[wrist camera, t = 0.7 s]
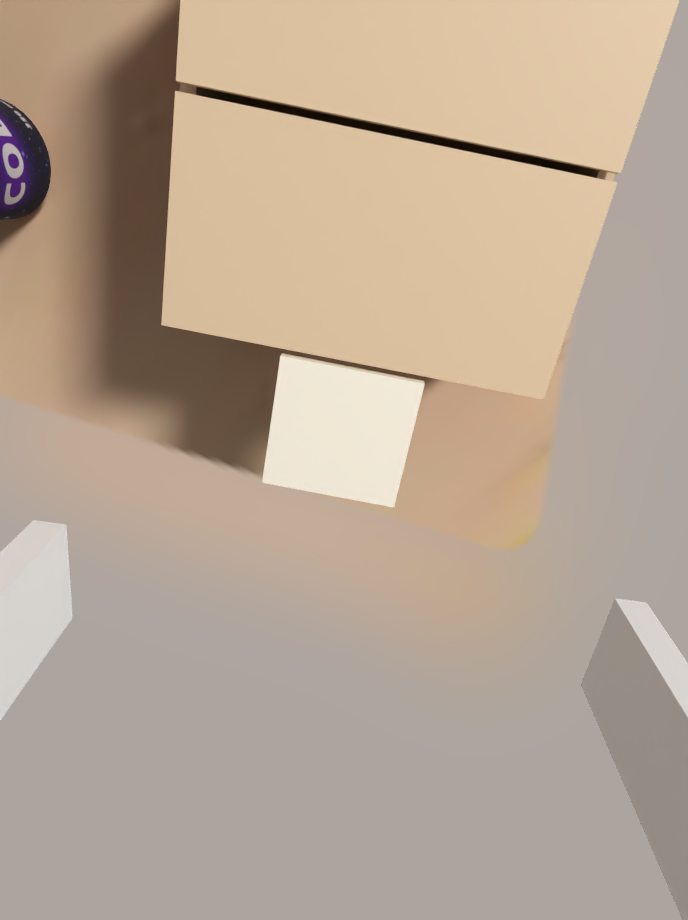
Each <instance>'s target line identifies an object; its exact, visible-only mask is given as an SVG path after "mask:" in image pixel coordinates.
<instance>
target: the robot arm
mask: <svg viewBox="0 0 688 920" xmlns="http://www.w3.org/2000/svg"><path fill="white" fill-rule="evenodd" d="M67 545H68V544H67V530H66V525H64V524H57V523H50V522H42V521H34V520H33V521H32V522H31V523H30V524H29V525H28V526H27V527H26V528H25V529H24V530H23V531H22V532H21V533H20V534H19V535H18V536H17V537H16V538H15V539H14V540H13V541H12V542H11V543H9V544H8V545H7V546H6V548H4V549H3V550H2V551H1V552H0V720H1V719H2V718H3V716H4V715H5V713H6V712H7V710H8V709H9V708H10V706H11V705H12V703H13V702H14V701H15V699H16V698H17V696H18V695H19V693H20V692H21V691H22V689H23V688H24V686H25V685H26V683H27V682H28V681H29V679H30V678H31V676H32V675H33V674H34V672H35V671H36V669H37V668H38V666H39V665H40V663H41V662H42V661H43V659H44V658H45V656H46V655H47V654H48V652H49V651H50V649H51V648H52V647H53V645H54V644H55V642H56V641H57V639H58V637H59V636H60V635H61V634H62V632H63V631H64V630H65V628H66V627H67V625H68V624H69V622H70V621H71V619H72V618H73V617H72V602H71V588H70V573H69V558H68V546H67ZM581 686H582V688H583V691H584V693H585V696H586V698H587V700H588V702H589V705H590V707H591V709H592V712H593V714H594V716H595V718H596V721H597V723H598V726H599V728H600V730H601V732H602V735H603V737H604V739H605V742H606V744H607V746H608V748H609V751H610V753H611V755H612V758H613V760H614V762H615V765H616V767H617V769H618V772H619V774H620V776H621V779H622V781H623V783H624V786H625V787H626V790H627V792H628V795H629V797H630V799H631V802H632V804H633V806H634V808H635V811H636V813H637V815H638V818H639V820H640V822H641V825H642V827H643V829H644V832H645V834H646V836H647V839H648V841H649V843H650V845H651V848H652V850H653V852H654V855H655V857H656V859H657V862H658V864H659V866H660V869H661V871H662V873H663V876H664V878H665V880H666V882H667V885H668V887H669V889H670V892H671V894H672V896H673V899H674V901H675V903H676V905H677V908H678V910H679V912H680V915H681V917H682V919H683V920H688V663H687V662H686V660H685V659H684V657H683V656H682V654H681V653H680V651H679V650H678V648H677V647H676V646H675V644H674V642H673V641H672V640H671V638H670V637H669V635H668V634H667V633H666V631H665V629H664V628H663V626H662V625H661V624H660V622H659V620H658V619H657V618H656V616H655V615H654V613H653V612H652V610H651V609H650V607H649V606H648V604H647V603H645V602H637V601H630V600H622V599H615V600H614V602H613V605H612V607H611V610H610V613H609V615H608V617H607V620H606V622H605V625H604V627H603V630H602V633H601V635H600V638H599V640H598V643H597V646H596V648H595V651H594V653H593V655H592V658H591V660H590V663H589V666H588V668H587V671H586V673H585V676H584V678H583V681H582V683H581Z"/></svg>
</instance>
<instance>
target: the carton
mask: <svg viewBox="0 0 688 920" xmlns="http://www.w3.org/2000/svg"><path fill="white" fill-rule="evenodd" d="M179 92H184V93H188V94H193V95H198V96H203V97H208V98H213V99H217V100H222V101H227V102H232V103H237V104H242V105H246V106H251V107H256V108H261V109H266V110H270V111H275V112H280V113H285V114H290V115H295V116H299V117H304V118H309V119H314V120H319V121H324V122H328V123H333V124H338V125H343V126H348V127H352V128H357V129H362V130H367V131H372V132H377V133H381V134H386V135H391V136H396V137H401V138H406V139H410V140H415V141H420V142H425V143H430V144H434V145H439V146H444V147H449V148H454V149H459V150H463V151H468V152H473V153H478V154H483V155H487V156H492V157H497V158H502V159H507V160H512V161H516V162H521V163H526V164H531V165H536V166H541V167H545V168H550V169H555V170H560V171H565V172H569V173H574V174H579V175H584V176H589V177H594V178H598V179H603V180H608V181H613V179H614V176H615V174H614V173H609V172H605V171H600V170H595V169H590V168H585V167H580V166H576V165H571V164H566V163H561V162H556V161H552V160H547V159H542V158H537V157H532V156H528V155H523V154H518V153H513V152H508V151H503V150H499V149H494V148H489V147H484V146H479V145H475V144H470V143H465V142H460V141H455V140H451V139H446V138H441V137H436V136H431V135H426V134H422V133H417V132H412V131H407V130H402V129H398V128H393V127H388V126H383V125H378V124H373V123H369V122H364V121H359V120H354V119H349V118H345V117H340V116H335V115H330V114H325V113H321V112H316V111H311V110H306V109H301V108H296V107H292V106H287V105H282V104H277V103H272V102H268V101H263V100H258V99H253V98H248V97H244V96H239V95H234V94H229V93H224V92H219V91H215V90H210V89H205V88H200V87H195V86H191V85H186V84H181V83H180V89H179Z"/></svg>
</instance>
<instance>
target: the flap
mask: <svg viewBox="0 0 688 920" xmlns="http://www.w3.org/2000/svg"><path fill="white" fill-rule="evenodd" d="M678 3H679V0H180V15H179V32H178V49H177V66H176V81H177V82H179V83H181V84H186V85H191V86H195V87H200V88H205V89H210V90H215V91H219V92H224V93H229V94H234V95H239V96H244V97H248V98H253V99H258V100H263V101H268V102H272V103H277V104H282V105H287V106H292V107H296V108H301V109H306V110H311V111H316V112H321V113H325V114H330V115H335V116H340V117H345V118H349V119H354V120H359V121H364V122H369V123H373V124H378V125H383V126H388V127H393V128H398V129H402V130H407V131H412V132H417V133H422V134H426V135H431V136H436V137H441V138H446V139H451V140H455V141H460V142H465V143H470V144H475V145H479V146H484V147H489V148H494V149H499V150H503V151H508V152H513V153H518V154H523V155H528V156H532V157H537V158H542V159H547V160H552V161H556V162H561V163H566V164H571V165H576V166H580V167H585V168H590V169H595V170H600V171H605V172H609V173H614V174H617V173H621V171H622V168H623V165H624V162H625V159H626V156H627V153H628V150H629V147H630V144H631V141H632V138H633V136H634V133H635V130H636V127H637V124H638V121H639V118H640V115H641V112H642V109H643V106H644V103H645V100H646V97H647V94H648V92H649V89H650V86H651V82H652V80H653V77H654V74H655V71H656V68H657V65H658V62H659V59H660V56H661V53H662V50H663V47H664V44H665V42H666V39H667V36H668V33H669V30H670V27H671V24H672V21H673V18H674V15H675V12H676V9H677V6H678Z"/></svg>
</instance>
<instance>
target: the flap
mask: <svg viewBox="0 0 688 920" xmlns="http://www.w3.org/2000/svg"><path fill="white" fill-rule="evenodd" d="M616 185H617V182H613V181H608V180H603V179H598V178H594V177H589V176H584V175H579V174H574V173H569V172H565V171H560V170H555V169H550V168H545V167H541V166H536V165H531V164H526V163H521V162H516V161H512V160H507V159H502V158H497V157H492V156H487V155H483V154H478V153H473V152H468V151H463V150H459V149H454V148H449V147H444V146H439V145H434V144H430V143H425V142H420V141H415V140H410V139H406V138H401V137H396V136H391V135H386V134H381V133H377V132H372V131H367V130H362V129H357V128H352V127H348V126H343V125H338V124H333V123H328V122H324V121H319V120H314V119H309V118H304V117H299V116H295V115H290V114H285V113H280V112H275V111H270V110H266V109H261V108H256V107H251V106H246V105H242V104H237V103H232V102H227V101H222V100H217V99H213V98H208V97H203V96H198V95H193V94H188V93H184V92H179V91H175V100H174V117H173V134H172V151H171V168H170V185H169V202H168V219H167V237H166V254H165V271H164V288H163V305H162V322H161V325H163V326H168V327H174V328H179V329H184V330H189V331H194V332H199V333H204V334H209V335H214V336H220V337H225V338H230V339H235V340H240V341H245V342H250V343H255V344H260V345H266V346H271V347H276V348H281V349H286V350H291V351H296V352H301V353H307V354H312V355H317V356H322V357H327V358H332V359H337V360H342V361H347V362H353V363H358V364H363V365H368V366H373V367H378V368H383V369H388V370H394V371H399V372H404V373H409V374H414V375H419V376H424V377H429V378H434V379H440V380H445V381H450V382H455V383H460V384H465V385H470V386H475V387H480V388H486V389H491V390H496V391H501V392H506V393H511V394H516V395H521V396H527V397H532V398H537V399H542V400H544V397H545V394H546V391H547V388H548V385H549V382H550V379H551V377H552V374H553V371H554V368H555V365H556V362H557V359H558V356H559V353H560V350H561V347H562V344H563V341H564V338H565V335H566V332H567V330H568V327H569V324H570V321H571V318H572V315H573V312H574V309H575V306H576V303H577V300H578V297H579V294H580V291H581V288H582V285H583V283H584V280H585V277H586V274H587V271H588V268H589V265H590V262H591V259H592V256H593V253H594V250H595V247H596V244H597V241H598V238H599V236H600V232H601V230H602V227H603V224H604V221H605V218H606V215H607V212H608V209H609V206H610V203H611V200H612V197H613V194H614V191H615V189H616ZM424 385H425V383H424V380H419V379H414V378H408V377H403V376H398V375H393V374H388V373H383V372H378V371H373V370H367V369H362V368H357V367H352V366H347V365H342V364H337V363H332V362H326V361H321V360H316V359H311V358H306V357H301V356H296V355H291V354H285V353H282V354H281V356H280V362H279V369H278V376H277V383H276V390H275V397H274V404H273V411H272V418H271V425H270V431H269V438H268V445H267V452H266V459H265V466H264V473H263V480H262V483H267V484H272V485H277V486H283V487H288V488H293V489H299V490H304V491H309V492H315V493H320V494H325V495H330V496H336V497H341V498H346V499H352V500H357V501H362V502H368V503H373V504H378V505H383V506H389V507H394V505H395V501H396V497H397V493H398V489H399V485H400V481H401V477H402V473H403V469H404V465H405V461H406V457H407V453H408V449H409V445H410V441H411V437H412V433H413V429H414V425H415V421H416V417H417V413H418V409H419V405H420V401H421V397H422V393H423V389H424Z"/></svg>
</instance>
